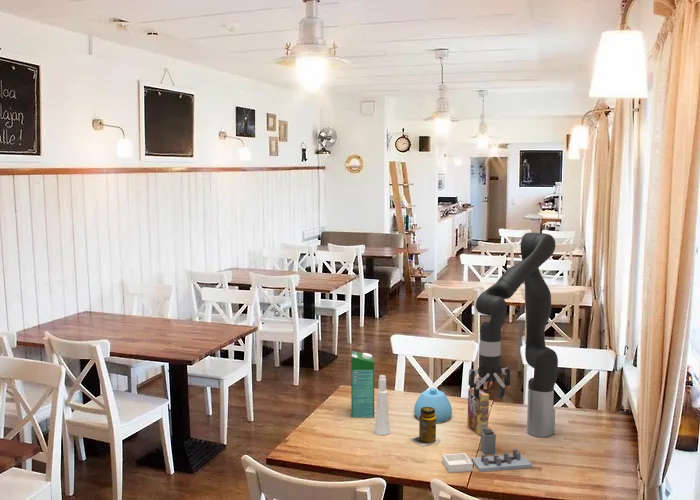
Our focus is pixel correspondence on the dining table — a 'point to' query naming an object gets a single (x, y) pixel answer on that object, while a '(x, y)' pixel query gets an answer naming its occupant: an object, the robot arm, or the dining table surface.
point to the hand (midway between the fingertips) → (488, 397)
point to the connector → (488, 442)
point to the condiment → (426, 427)
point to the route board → (501, 462)
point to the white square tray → (457, 462)
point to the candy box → (478, 411)
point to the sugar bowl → (434, 404)
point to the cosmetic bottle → (382, 409)
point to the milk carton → (362, 384)
